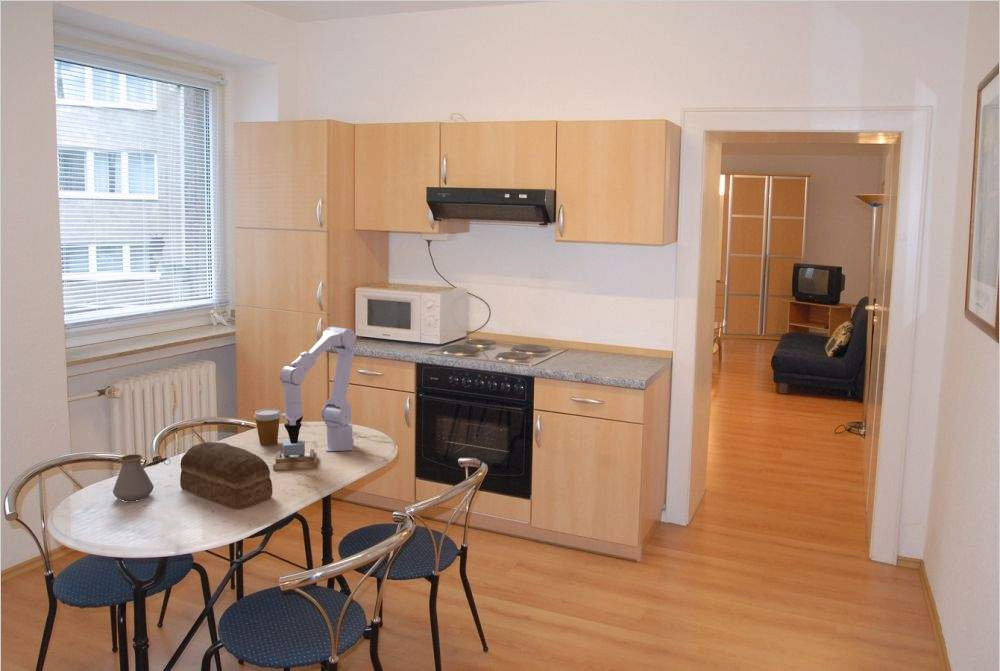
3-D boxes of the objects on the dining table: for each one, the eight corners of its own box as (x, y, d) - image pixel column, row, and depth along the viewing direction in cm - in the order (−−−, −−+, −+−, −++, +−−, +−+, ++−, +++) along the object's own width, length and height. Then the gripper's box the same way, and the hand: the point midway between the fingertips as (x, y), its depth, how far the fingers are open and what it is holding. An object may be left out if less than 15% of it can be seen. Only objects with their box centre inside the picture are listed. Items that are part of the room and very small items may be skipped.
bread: (215, 476, 281) (212, 430, 278) (278, 498, 262) (276, 448, 259) (175, 489, 269) (172, 441, 267) (238, 513, 251) (235, 461, 248)
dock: (316, 457, 300) (316, 447, 300) (315, 467, 290) (315, 457, 289) (275, 459, 298) (275, 449, 297) (273, 470, 287) (272, 460, 286)
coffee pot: (105, 500, 260) (101, 453, 257) (135, 488, 270) (132, 443, 267) (156, 512, 250) (152, 464, 248) (186, 499, 261) (182, 452, 258)
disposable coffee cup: (278, 447, 311) (276, 415, 309) (252, 447, 311) (250, 415, 309) (285, 439, 321) (283, 408, 318) (259, 439, 321) (258, 408, 319)
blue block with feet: (305, 454, 296) (304, 440, 295) (304, 459, 292) (304, 444, 291) (284, 456, 295) (283, 441, 294) (283, 460, 291) (282, 445, 290)
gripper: (282, 396, 296) (284, 434, 299) (279, 407, 282) (281, 446, 285) (303, 395, 297) (304, 433, 300) (301, 406, 283) (302, 445, 286)
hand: (294, 439), depth 292 cm, fingers open, 7 cm apart
